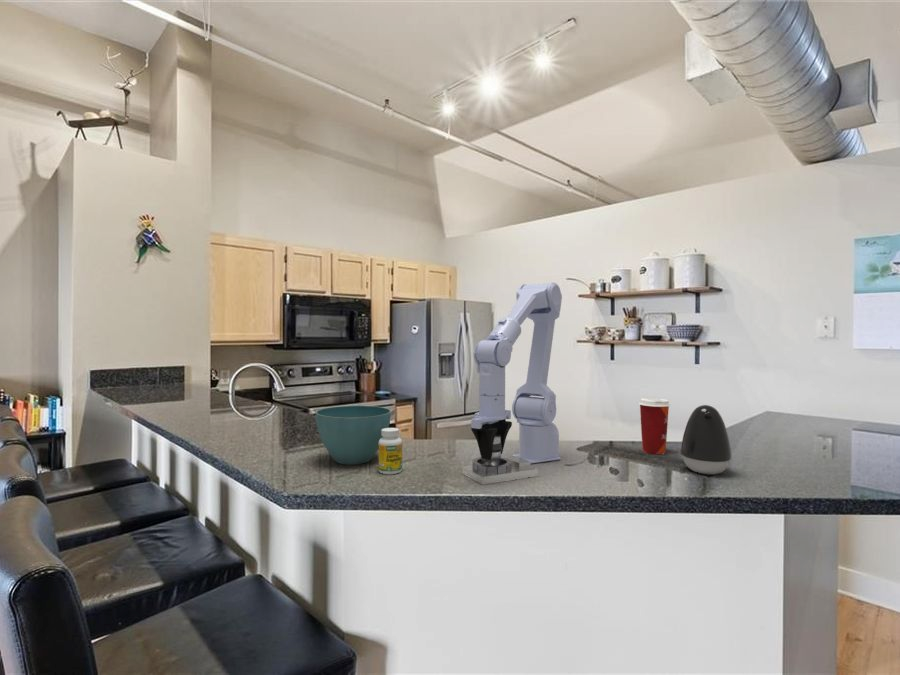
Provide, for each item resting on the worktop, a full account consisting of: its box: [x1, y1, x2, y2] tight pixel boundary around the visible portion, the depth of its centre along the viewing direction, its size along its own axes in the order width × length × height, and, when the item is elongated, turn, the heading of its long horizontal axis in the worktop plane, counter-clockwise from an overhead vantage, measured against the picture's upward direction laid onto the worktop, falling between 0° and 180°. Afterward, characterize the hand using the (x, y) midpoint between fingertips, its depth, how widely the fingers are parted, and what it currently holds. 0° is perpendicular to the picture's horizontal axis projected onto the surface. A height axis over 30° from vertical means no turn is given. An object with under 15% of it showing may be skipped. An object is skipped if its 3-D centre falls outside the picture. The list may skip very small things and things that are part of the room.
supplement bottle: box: [378, 427, 403, 475], centre depth 110 cm, size 5×5×10 cm
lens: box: [481, 434, 502, 466], centre depth 107 cm, size 5×5×7 cm
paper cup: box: [638, 397, 671, 455], centre depth 129 cm, size 8×8×14 cm
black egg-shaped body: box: [680, 404, 732, 476], centre depth 111 cm, size 10×10×15 cm
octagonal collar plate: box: [461, 456, 539, 486], centre depth 108 cm, size 14×9×3 cm, turn 116°
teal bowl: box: [315, 405, 392, 465], centre depth 120 cm, size 18×18×12 cm
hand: (491, 456), depth 107 cm, fingers closed on lens, 4 cm apart
